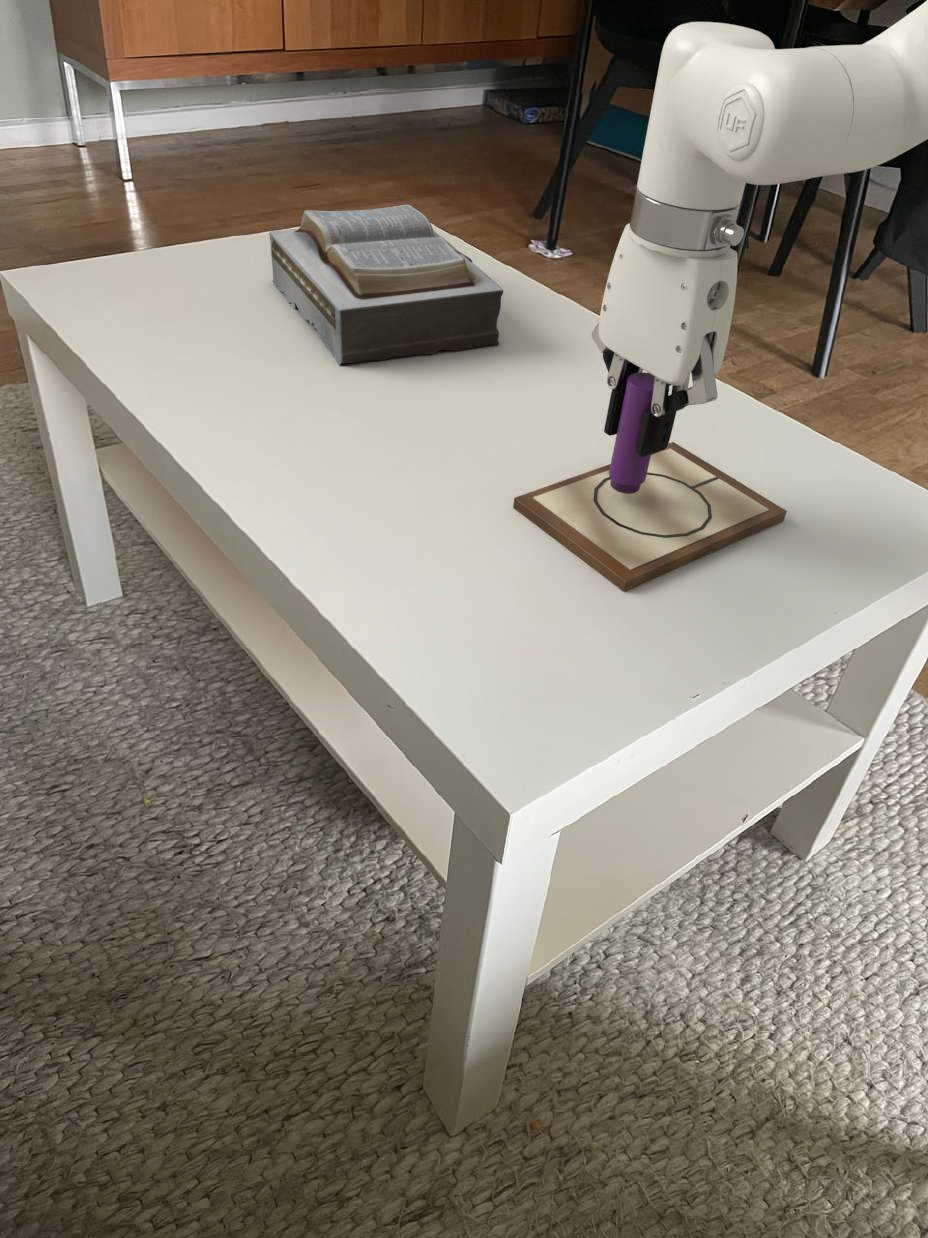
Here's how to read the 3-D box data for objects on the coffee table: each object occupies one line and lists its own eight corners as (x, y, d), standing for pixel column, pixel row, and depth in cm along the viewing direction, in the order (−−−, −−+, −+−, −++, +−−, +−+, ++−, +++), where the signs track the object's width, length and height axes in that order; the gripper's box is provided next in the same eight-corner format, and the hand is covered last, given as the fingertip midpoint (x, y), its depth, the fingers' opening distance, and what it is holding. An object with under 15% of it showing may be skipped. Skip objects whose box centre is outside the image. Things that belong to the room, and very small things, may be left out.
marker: (645, 480, 89) (668, 376, 83) (641, 498, 86) (665, 393, 80) (609, 473, 89) (630, 369, 83) (604, 491, 87) (625, 385, 81)
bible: (448, 268, 131) (454, 189, 125) (509, 358, 111) (519, 270, 105) (267, 271, 125) (264, 189, 119) (297, 368, 105) (294, 275, 99)
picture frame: (671, 450, 98) (673, 440, 97) (783, 520, 90) (787, 509, 89) (512, 507, 88) (514, 495, 87) (623, 591, 80) (626, 580, 79)
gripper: (803, 250, 70) (736, 475, 82) (642, 181, 80) (602, 391, 92) (731, 266, 67) (672, 499, 78) (571, 191, 76) (539, 409, 88)
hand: (635, 439), depth 85 cm, fingers closed on marker, 3 cm apart
